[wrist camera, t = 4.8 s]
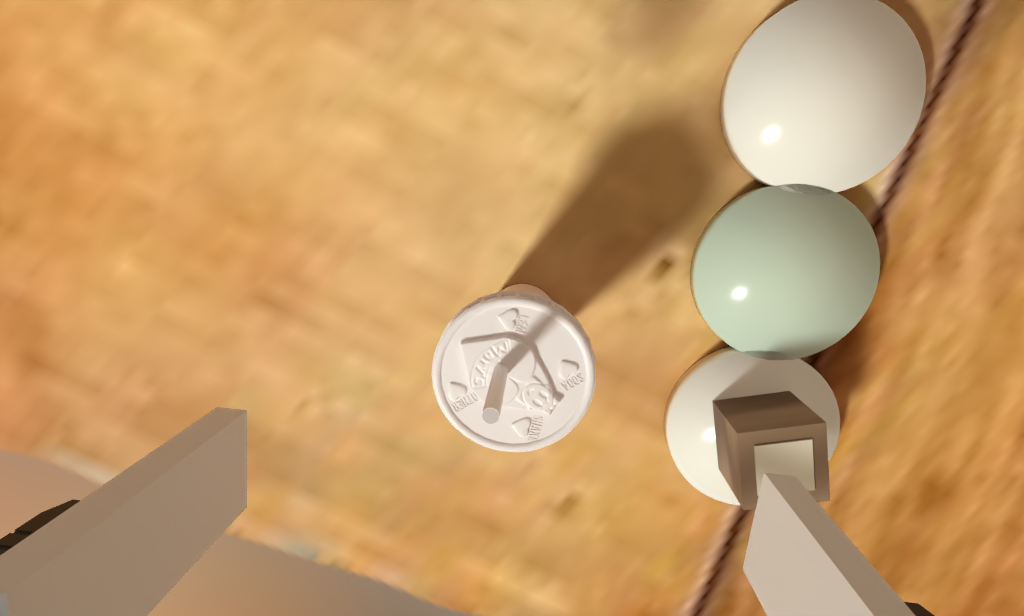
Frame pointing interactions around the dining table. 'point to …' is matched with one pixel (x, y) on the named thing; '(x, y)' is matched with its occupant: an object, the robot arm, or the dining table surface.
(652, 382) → the dining table surface
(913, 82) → the saucer near
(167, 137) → the dining table surface
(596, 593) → the dining table surface
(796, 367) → the saucer far
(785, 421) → the letter cube
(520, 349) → the smoothie
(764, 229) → the saucer mid
